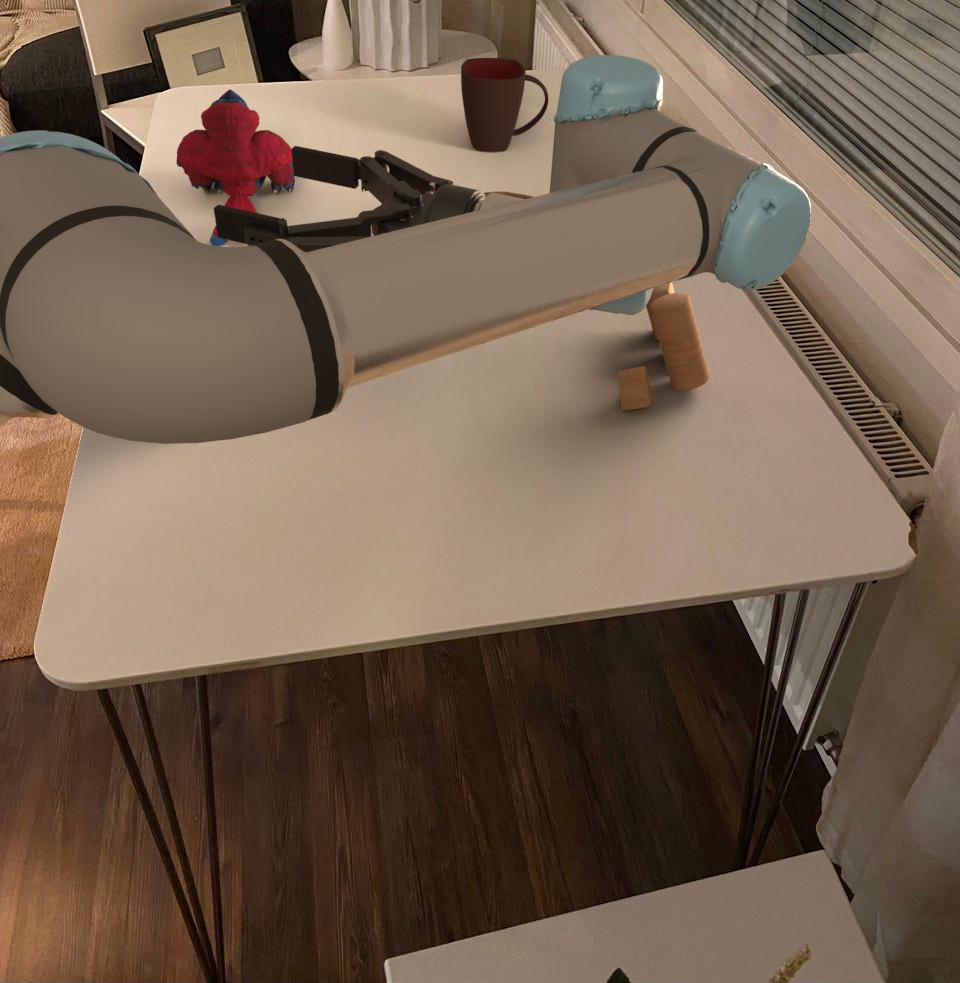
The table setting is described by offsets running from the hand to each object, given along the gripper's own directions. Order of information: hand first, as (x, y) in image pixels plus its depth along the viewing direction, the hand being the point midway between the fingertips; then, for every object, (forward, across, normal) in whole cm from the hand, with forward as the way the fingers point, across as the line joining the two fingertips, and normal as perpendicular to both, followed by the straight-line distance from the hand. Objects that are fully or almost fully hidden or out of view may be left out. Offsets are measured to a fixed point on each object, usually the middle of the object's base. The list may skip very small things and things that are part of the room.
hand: (257, 189), depth 87 cm
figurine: (+26, +36, -24) cm, 51 cm away
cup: (+1, +75, -24) cm, 78 cm away
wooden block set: (-37, +23, -24) cm, 50 cm away
